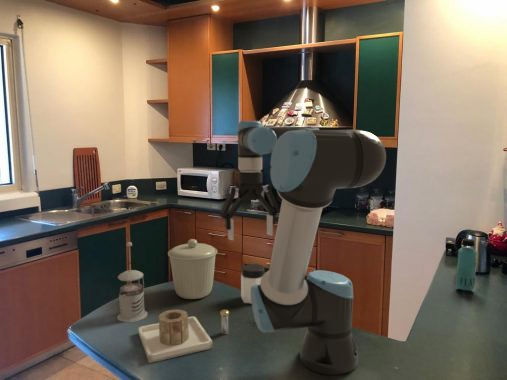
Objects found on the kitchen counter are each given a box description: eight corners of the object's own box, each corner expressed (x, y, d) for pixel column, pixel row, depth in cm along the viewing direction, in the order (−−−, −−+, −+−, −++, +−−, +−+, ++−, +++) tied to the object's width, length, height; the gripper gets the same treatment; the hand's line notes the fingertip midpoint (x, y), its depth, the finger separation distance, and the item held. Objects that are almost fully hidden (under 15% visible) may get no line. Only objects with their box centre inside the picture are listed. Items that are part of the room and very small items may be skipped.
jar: (251, 306, 141) (251, 273, 139) (236, 299, 147) (236, 267, 145) (269, 299, 147) (269, 267, 145) (254, 292, 153) (254, 262, 151)
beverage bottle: (456, 293, 152) (460, 241, 149) (453, 286, 158) (457, 236, 155) (476, 295, 150) (480, 242, 147) (472, 288, 156) (476, 237, 153)
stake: (230, 333, 122) (230, 312, 121) (222, 335, 121) (222, 314, 120) (227, 330, 124) (227, 309, 123) (219, 331, 123) (219, 310, 122)
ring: (185, 329, 123) (184, 307, 122) (191, 344, 115) (190, 321, 114) (158, 334, 120) (157, 312, 120) (162, 349, 112) (161, 325, 111)
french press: (110, 320, 131) (106, 245, 128) (129, 305, 142) (126, 236, 139) (138, 323, 129) (134, 247, 125) (155, 308, 140) (152, 237, 136)
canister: (160, 293, 153) (158, 238, 150) (201, 281, 165) (200, 231, 162) (185, 308, 140) (183, 249, 137) (227, 295, 151) (226, 240, 148)
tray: (212, 348, 114) (212, 341, 113) (149, 363, 106) (148, 356, 106) (194, 321, 130) (194, 316, 129) (138, 333, 122) (138, 327, 122)
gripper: (279, 168, 135) (279, 230, 138) (208, 171, 125) (209, 238, 128) (291, 170, 129) (290, 235, 132) (216, 173, 118) (218, 244, 121)
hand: (250, 237), depth 130 cm, fingers open, 13 cm apart
